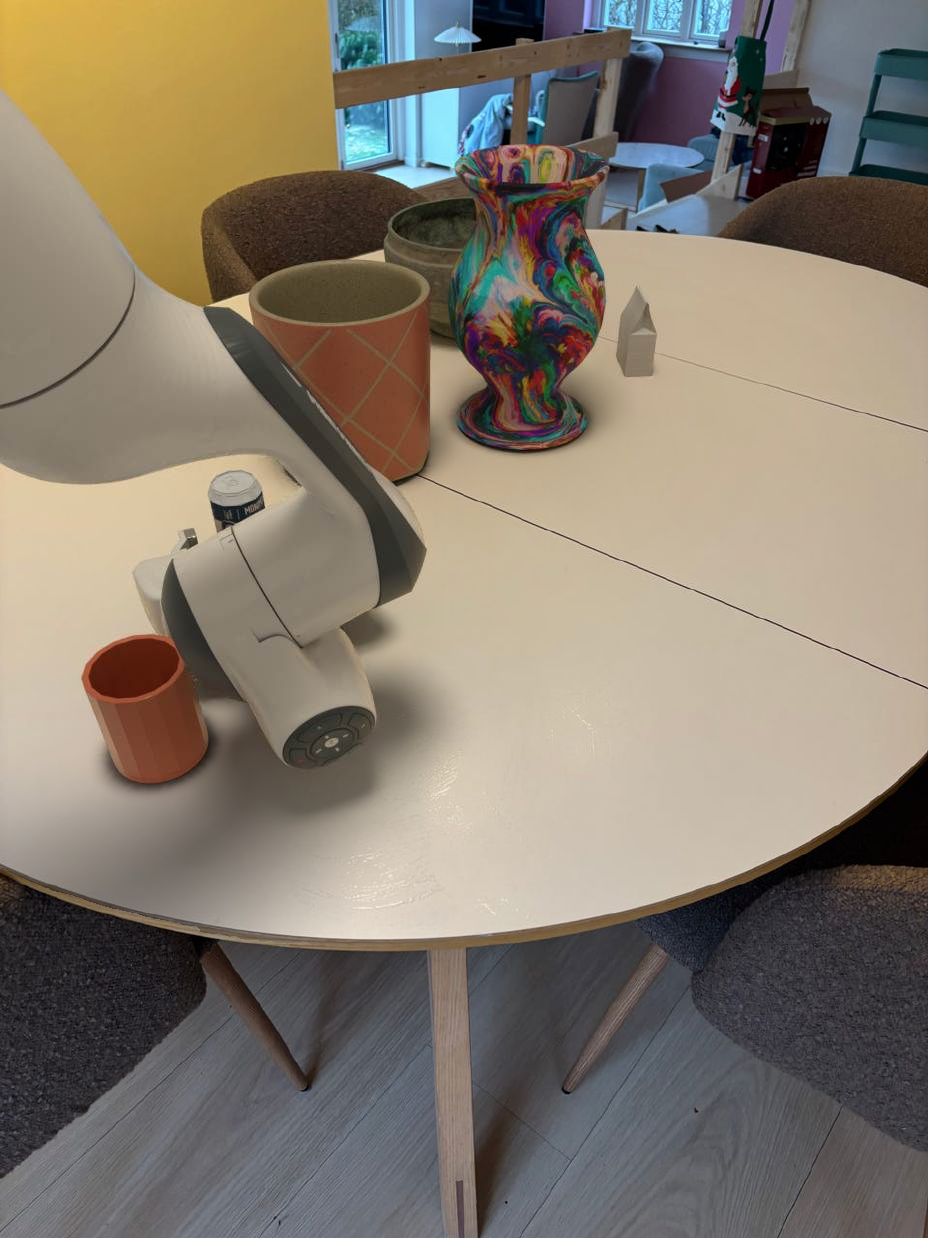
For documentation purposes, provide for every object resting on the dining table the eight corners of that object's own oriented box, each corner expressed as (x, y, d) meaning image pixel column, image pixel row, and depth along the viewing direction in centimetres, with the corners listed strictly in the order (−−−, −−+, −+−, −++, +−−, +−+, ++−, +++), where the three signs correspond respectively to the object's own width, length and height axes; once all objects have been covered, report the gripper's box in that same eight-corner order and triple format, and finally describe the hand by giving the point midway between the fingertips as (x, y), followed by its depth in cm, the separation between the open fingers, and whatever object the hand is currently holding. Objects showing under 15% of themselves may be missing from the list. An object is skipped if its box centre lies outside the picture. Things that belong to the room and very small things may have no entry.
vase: (584, 464, 105) (610, 191, 86) (434, 447, 108) (425, 181, 89) (601, 394, 119) (626, 145, 99) (467, 381, 122) (466, 137, 102)
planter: (458, 479, 103) (455, 308, 90) (294, 513, 98) (267, 337, 85) (407, 407, 116) (399, 249, 103) (262, 433, 111) (234, 271, 98)
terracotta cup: (125, 797, 68) (92, 716, 62) (105, 734, 73) (73, 653, 67) (220, 761, 71) (197, 680, 65) (194, 703, 76) (171, 622, 70)
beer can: (245, 609, 85) (222, 502, 77) (220, 585, 87) (195, 480, 80) (288, 588, 87) (270, 482, 79) (263, 566, 90) (242, 461, 82)
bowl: (385, 286, 149) (378, 190, 140) (539, 279, 151) (543, 184, 141) (392, 370, 125) (385, 260, 115) (576, 361, 127) (585, 252, 117)
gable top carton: (624, 376, 123) (633, 304, 116) (616, 355, 128) (623, 285, 122) (651, 375, 123) (661, 303, 116) (641, 354, 128) (650, 284, 122)
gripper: (391, 549, 75) (341, 470, 84) (140, 613, 69) (117, 520, 78) (395, 607, 79) (347, 525, 89) (159, 672, 73) (135, 577, 82)
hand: (237, 523), depth 83 cm, fingers open, 8 cm apart
